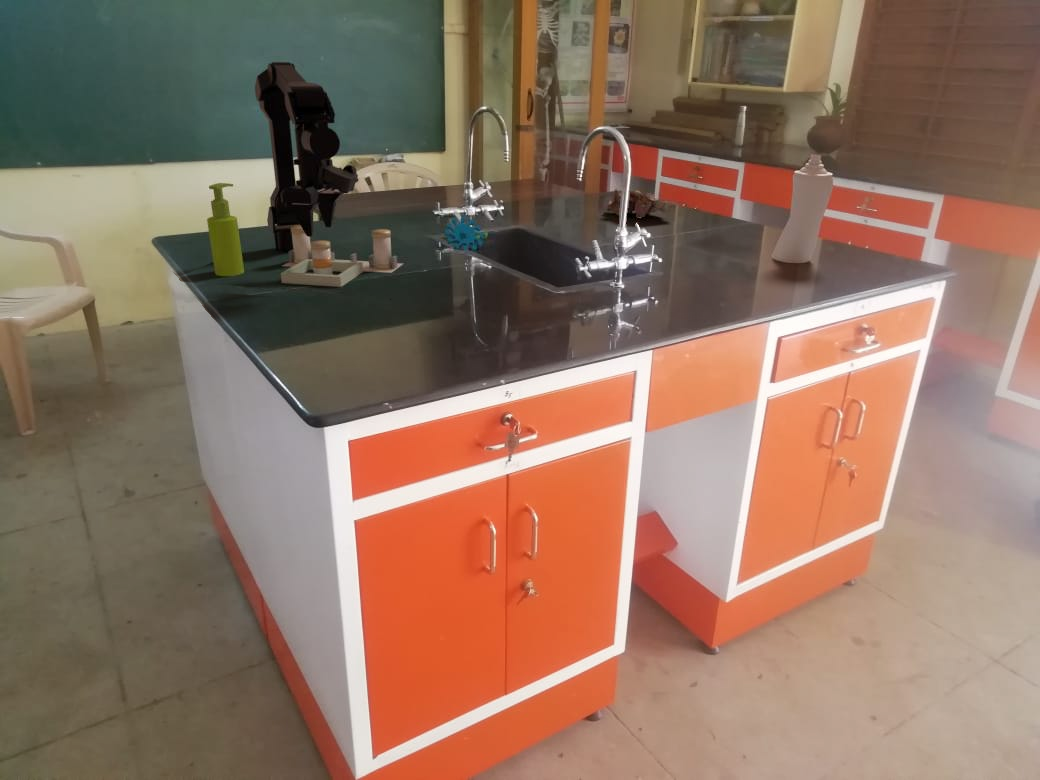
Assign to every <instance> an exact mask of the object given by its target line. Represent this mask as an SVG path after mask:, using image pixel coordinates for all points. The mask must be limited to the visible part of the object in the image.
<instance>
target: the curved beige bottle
mask: <svg viewBox="0 0 1040 780" xmlns="http://www.w3.org/2000/svg"><path fill="white" fill-rule="evenodd" d="M821 158H822V155H821V154H816V153H815V154H810V158H809V159H808V162H806V163H805V165H804V167H801V168H800V170H795V171H794V174H793V175H792V192H791V195H792V196H791V204H790V215H789V219H788V220H787V222H786V224H785V227H784V229H783V231H782V233H781V235H780V237H779V239H778V241H777V243H776V245H775V247H774V250H773V252H772V255H771V259H773V260H775V261H777V262H781V263H788V264H805V263H809V262H810V260H811V258H812V256H813V254H814V252H815V250H816V246H817V242H818V238H819V235H820V234H819V233H820V229H821V225H822V220H823V218H824V216H825V213H826V209H827V206H828V205H829V202H830V199H831V196H832V193H833V192H834V177H833V173H832V172H829V171H827V169H825V168H824V167H825V164H822V163H823V162H822V160H821Z"/></svg>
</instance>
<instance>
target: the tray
mask: <svg viewBox="0 0 1040 780" xmlns="http://www.w3.org/2000/svg"><path fill="white" fill-rule="evenodd" d="M308 271H314V268H313V261H312V259H306V260H304V261H302V262H300V263H298V264H297V265H295V266H293V267H289V268H288V269H285V270H284V271H282V272H281V273H280V279H281V284H293V285H308V286H309V285H311V286H324V287H325V286H327V287H339V288H342V287H343V286H344V285H346V284H348V283H349V282H351V281H352V280H353V279H355V278H356V277H357V276H359V275H361V274H362V273H364V271H363V263H362V262H346V261H332V272H337V273H338V272H340V273H339V274H333V275H324V274H314V273H307V272H308ZM282 290H284V291H285V290H286V291H295V292H296V291H299V292H311V293H312V292H313V293H316V292H317V293H330V294H340V295H342V294H343V293H344V292H343V291H334V290H333V291H329V290H317V289H303V288H301V289H300V288H285V287H282Z"/></svg>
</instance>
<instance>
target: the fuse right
mask: <svg viewBox="0 0 1040 780" xmlns="http://www.w3.org/2000/svg"><path fill="white" fill-rule="evenodd" d="M391 232H392V231H391V230H390V229H386V228H385V229H383V228H382V229H381V228H378V229H374V230H372V231H371V237H372V248H373V254H374V268H375V269H382V270H383V269H390V268H392V264H391V257H392V245H391V244H392V243H391V240H392V239H391Z"/></svg>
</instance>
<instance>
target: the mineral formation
mask: <svg viewBox="0 0 1040 780" xmlns="http://www.w3.org/2000/svg"><path fill="white" fill-rule="evenodd" d="M629 192H630V199H629V208H628V213H629V214H630V213H632V214H633V212H636V214H635V218H636V217H645V216H646V215H645V214H649V215H650V214H651V213H656V212H657V211H661V213H665V212H666V211H667V210H668V209H669V206H670V205H671V206H673V205H675V206H677V205H678V202H676V201H667V200H665V201H661V200H658V199H656V195H655V194H654V193H651V192H646V193H645V194H644V193H642V190H640V189H637V188H636V189H634V190H630V191H629ZM620 198H621V189H618V188H616V189H614V199H613V201H612V200H611V199H610V200H609V201H607V204H606V211H607V212H612V214H614V215H615V214H616V215H617V216H619V208H620Z"/></svg>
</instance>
